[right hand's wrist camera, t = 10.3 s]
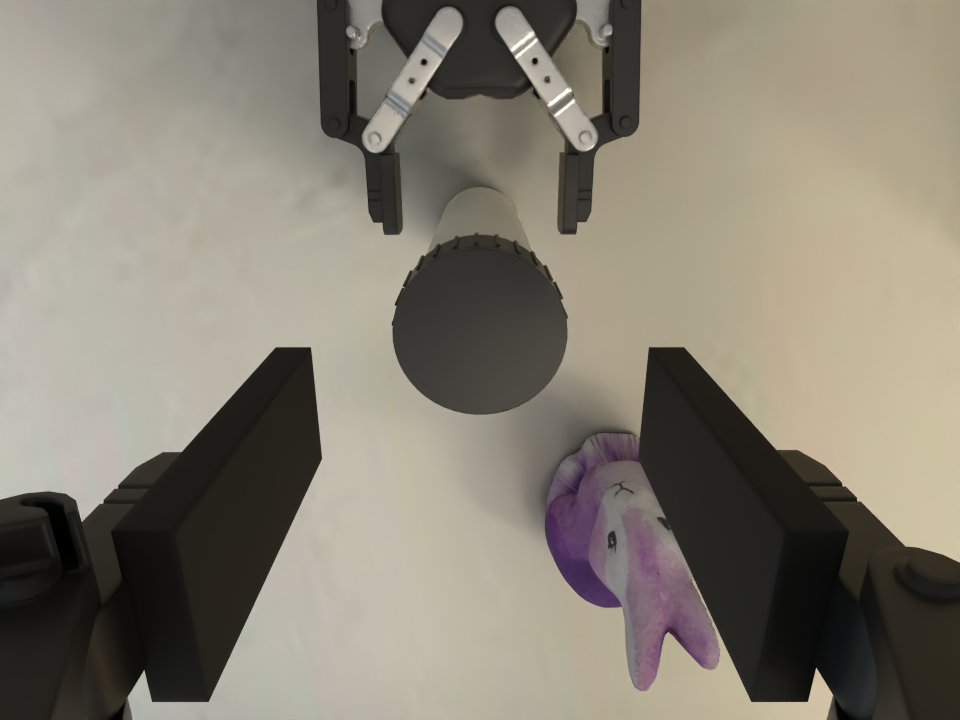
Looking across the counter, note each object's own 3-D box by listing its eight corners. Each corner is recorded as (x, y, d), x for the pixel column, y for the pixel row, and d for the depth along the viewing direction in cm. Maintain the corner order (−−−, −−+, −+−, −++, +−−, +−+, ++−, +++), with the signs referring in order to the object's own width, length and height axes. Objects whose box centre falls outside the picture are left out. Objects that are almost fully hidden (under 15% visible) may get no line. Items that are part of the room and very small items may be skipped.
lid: (425, 209, 20) (418, 220, 17) (584, 262, 20) (597, 280, 18) (380, 360, 21) (369, 388, 19) (528, 405, 22) (534, 437, 20)
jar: (454, 175, 36) (428, 232, 18) (530, 201, 37) (580, 283, 18) (430, 252, 38) (384, 376, 20) (504, 276, 38) (526, 419, 20)
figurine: (608, 395, 41) (675, 539, 27) (699, 497, 44) (803, 676, 30) (497, 480, 43) (506, 654, 29) (591, 572, 46) (640, 771, 32)
